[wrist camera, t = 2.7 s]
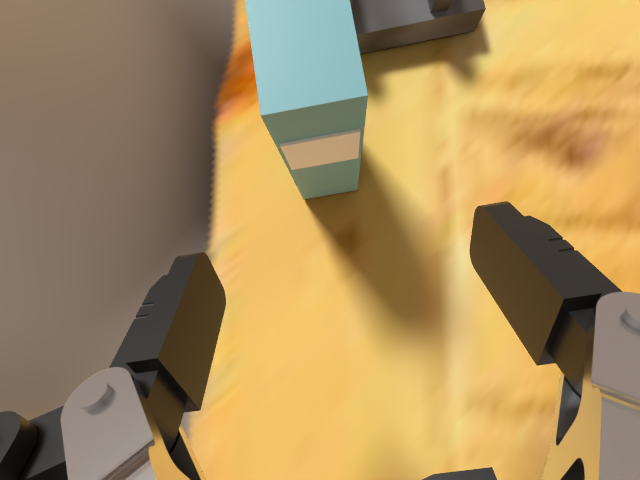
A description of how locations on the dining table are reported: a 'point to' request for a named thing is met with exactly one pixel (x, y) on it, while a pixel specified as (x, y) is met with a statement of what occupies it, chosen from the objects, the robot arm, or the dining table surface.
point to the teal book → (311, 89)
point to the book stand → (411, 21)
